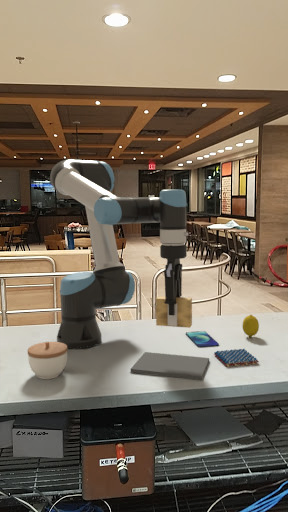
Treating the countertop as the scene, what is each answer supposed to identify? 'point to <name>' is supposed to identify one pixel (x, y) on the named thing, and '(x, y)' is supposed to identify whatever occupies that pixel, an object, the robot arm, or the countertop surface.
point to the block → (182, 312)
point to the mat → (171, 365)
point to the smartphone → (201, 339)
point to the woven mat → (235, 357)
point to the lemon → (250, 325)
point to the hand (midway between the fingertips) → (173, 323)
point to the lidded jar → (47, 359)
